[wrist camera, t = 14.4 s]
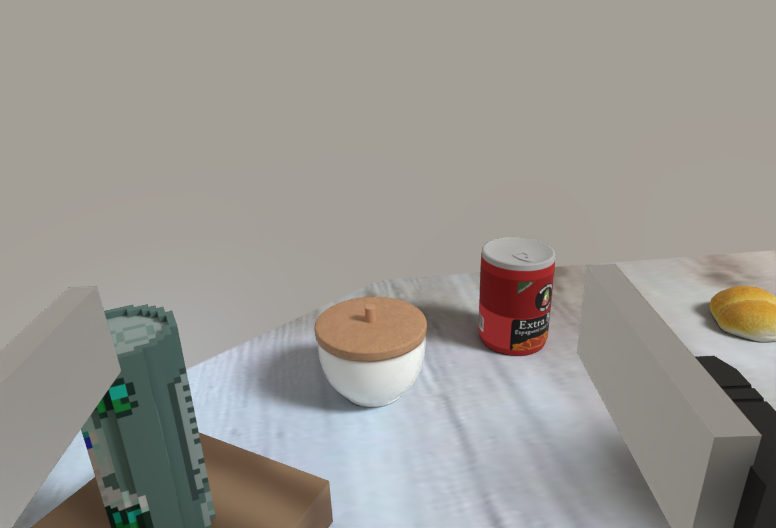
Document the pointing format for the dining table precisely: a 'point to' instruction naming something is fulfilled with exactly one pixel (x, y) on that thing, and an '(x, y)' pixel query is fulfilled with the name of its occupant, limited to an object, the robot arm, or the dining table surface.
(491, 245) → the canned food
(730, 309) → the bread roll
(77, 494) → the walnut base
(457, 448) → the dining table surface
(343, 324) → the lidded jar
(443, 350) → the dining table surface
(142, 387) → the can
